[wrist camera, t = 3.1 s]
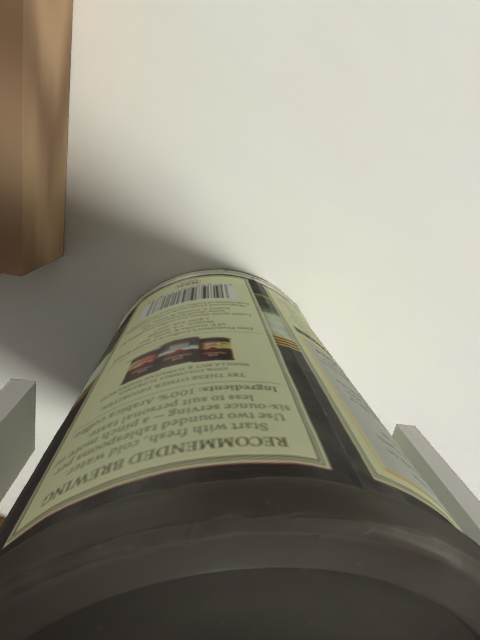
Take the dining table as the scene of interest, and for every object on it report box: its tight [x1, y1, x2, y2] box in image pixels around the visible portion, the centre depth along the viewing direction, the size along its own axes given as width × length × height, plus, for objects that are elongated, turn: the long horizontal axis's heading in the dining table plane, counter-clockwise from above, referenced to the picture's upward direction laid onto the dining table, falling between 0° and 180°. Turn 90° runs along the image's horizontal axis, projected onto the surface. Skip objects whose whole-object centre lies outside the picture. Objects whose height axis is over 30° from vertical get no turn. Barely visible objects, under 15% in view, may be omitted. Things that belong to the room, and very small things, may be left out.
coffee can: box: [0, 269, 480, 640], centre depth 13 cm, size 10×10×14 cm
